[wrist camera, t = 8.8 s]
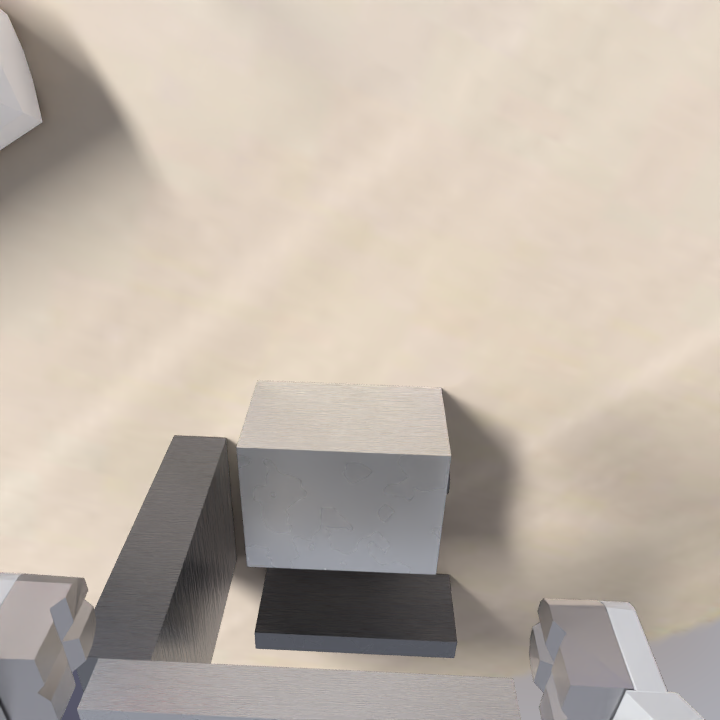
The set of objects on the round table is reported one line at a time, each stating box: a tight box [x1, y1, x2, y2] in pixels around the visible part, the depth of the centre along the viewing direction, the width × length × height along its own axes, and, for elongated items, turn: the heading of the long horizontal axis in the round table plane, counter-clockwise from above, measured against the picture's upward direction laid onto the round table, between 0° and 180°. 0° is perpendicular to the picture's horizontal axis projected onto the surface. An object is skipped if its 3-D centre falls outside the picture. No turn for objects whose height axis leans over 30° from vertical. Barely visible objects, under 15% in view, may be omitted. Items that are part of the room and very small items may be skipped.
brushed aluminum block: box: [236, 380, 451, 575], centre depth 34 cm, size 8×10×6 cm
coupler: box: [77, 436, 521, 720], centre depth 32 cm, size 12×17×17 cm
